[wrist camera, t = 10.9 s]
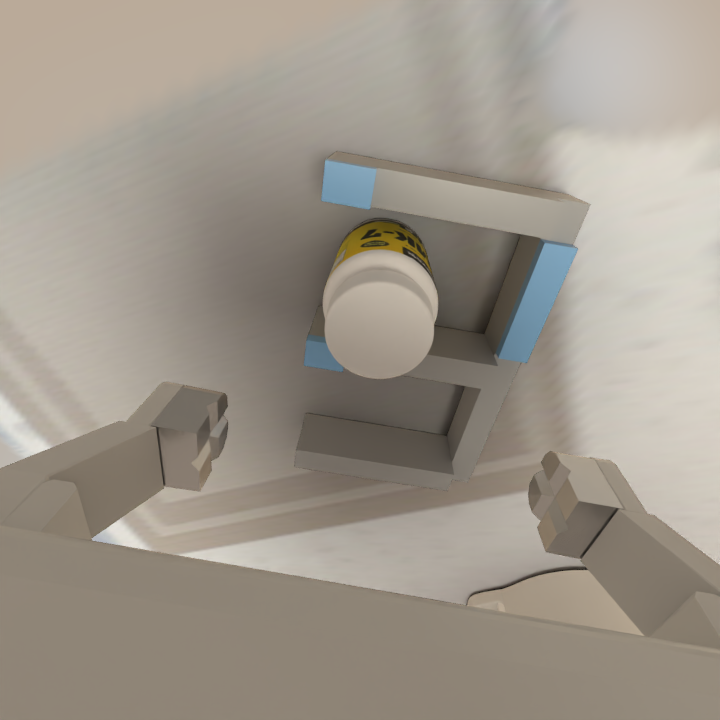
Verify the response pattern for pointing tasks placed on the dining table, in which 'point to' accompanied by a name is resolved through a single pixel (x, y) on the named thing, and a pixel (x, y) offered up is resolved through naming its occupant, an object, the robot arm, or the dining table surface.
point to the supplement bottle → (380, 301)
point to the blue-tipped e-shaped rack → (450, 346)
